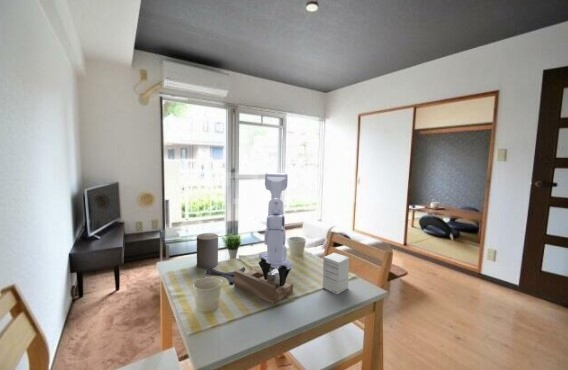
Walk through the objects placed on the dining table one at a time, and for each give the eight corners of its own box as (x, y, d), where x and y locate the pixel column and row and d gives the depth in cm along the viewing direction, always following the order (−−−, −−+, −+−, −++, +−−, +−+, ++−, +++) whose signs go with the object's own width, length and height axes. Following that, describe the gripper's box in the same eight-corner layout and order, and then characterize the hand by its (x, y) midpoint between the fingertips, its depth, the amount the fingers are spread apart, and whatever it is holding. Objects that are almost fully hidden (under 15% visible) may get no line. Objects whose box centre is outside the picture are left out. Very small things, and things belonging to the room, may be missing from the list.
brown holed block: (255, 275, 112) (255, 262, 112) (292, 291, 100) (293, 276, 99) (234, 285, 103) (234, 270, 103) (273, 304, 91) (273, 287, 90)
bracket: (214, 267, 121) (214, 261, 121) (245, 270, 119) (245, 264, 118) (198, 282, 107) (198, 275, 107) (233, 286, 104) (233, 279, 104)
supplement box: (332, 281, 108) (334, 252, 107) (348, 288, 103) (350, 257, 102) (321, 287, 103) (323, 256, 102) (337, 295, 98) (339, 262, 97)
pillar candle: (192, 267, 119) (192, 235, 118) (203, 259, 129) (203, 229, 127) (212, 270, 117) (212, 237, 116) (221, 261, 127) (222, 231, 125)
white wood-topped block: (277, 287, 103) (277, 267, 102) (283, 289, 101) (283, 269, 100) (266, 293, 98) (267, 272, 97) (272, 296, 96) (273, 275, 95)
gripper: (253, 245, 99) (253, 279, 100) (283, 254, 90) (282, 292, 91) (266, 240, 104) (265, 273, 106) (295, 249, 95) (294, 285, 97)
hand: (274, 282), depth 99 cm, fingers open, 7 cm apart
